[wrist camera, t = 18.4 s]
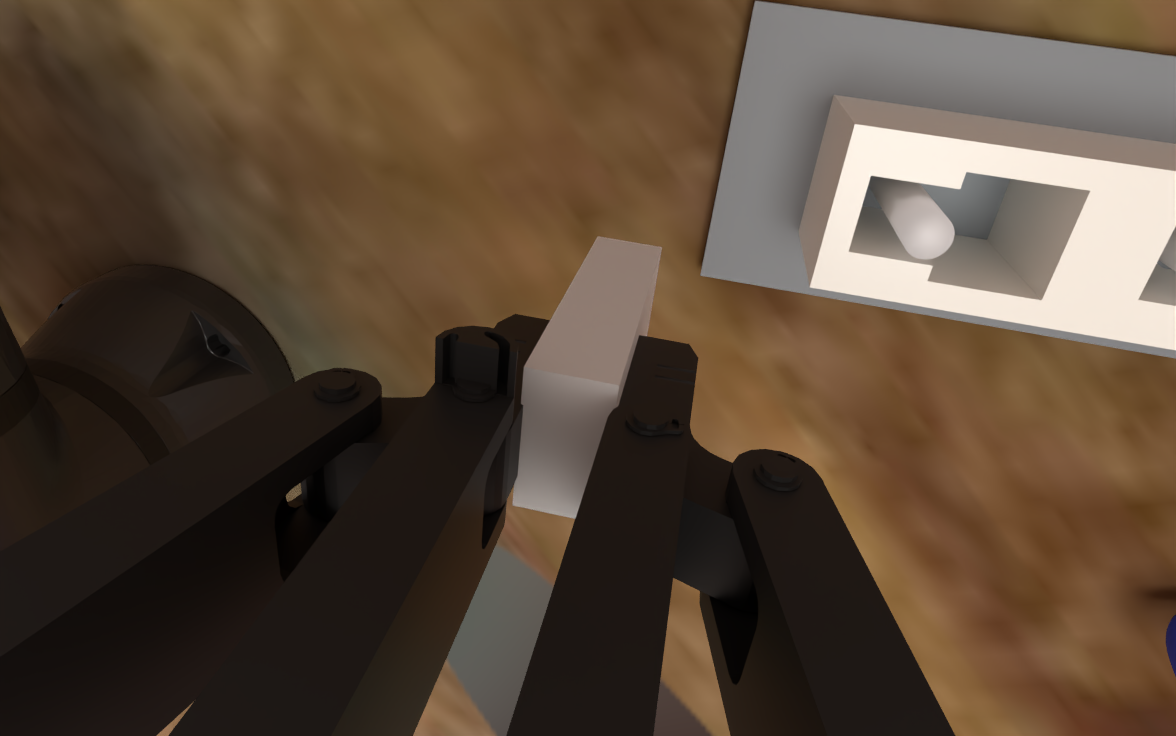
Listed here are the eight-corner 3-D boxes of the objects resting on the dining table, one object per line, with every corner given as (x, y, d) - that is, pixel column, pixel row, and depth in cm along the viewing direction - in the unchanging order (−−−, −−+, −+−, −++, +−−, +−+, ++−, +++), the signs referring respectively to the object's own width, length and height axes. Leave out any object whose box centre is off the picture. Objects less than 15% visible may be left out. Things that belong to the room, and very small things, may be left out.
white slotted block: (798, 231, 34) (810, 291, 28) (833, 94, 31) (856, 125, 25) (1318, 316, 32) (1463, 403, 25) (1408, 177, 29) (1598, 235, 22)
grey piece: (701, 267, 37) (688, 355, 28) (754, -1, 31) (757, 9, 23) (1217, 356, 34) (1373, 483, 26) (1379, 82, 29) (1650, 129, 20)
